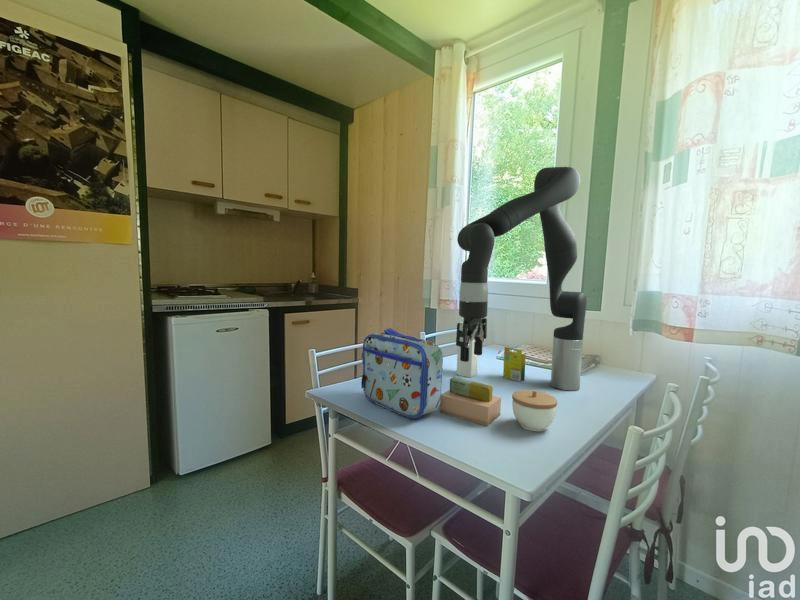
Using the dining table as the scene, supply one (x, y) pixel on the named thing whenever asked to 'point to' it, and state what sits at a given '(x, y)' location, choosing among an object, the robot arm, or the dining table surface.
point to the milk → (470, 366)
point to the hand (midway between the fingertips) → (471, 357)
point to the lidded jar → (534, 409)
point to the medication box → (471, 389)
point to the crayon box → (514, 364)
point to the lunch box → (402, 373)
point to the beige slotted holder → (470, 408)
